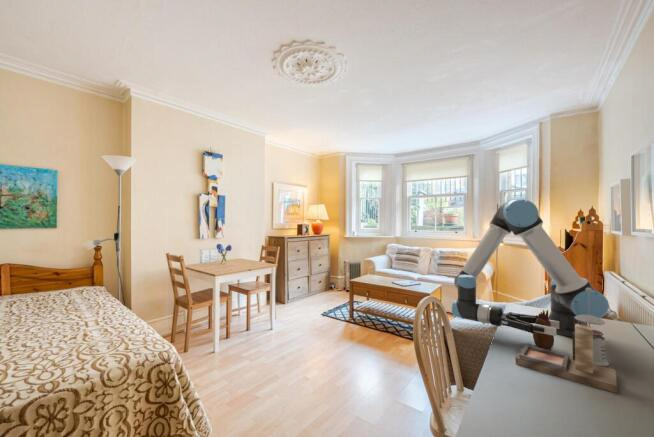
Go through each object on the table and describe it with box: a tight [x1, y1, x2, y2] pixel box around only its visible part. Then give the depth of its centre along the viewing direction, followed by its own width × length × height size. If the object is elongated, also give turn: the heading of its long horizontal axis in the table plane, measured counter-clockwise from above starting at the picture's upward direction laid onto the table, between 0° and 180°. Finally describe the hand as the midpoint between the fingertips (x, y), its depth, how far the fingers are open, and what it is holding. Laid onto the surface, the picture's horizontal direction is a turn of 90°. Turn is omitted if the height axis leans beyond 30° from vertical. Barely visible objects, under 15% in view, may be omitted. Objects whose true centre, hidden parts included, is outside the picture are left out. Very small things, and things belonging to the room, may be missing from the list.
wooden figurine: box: [532, 309, 555, 350], centre depth 110 cm, size 7×6×15 cm
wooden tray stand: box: [515, 324, 618, 394], centre depth 93 cm, size 24×13×15 cm, turn 46°
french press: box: [571, 288, 610, 367], centre depth 102 cm, size 10×12×25 cm
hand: (557, 328), depth 107 cm, fingers open, 10 cm apart
